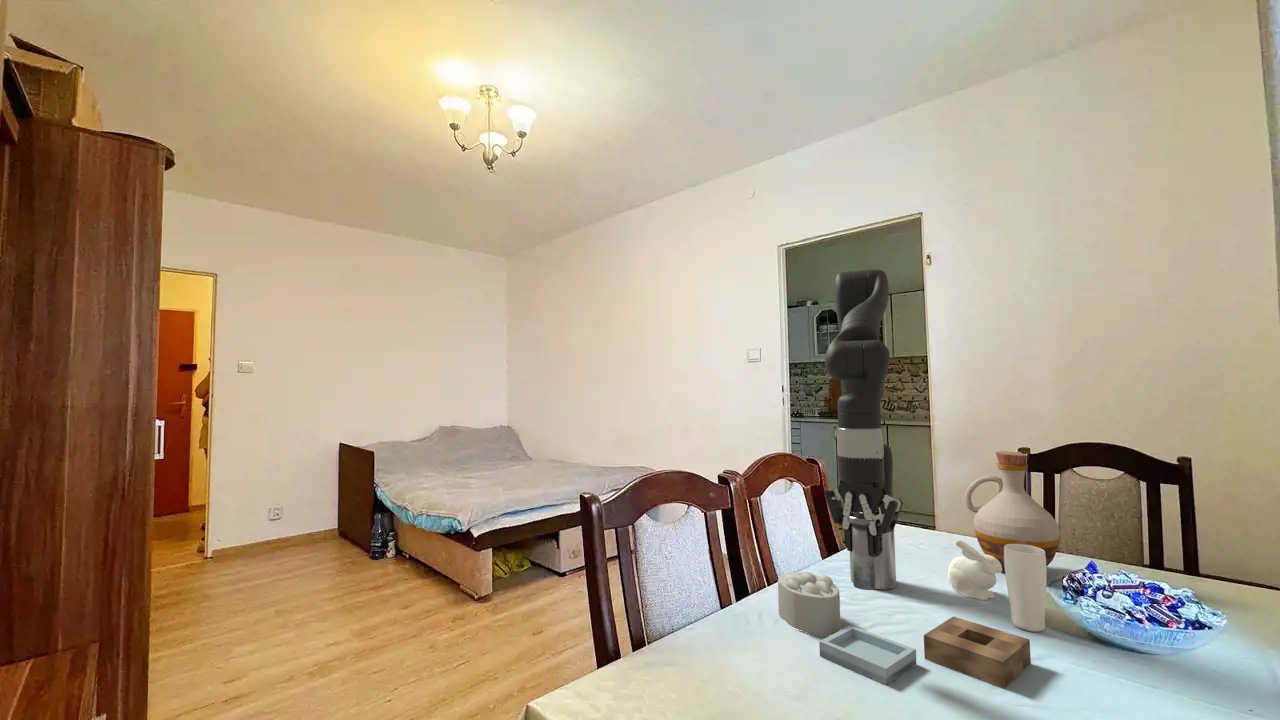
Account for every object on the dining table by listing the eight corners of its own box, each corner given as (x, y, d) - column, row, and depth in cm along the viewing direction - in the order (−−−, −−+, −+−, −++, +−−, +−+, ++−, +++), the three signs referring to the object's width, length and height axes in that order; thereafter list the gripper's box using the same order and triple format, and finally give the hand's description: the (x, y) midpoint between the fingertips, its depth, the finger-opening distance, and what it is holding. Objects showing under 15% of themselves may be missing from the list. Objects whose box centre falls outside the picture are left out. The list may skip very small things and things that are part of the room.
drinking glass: (1057, 636, 100) (1053, 554, 101) (1017, 633, 102) (1013, 552, 103) (1038, 620, 107) (1034, 544, 108) (1000, 618, 108) (997, 542, 109)
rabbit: (1008, 601, 117) (1006, 545, 118) (974, 606, 115) (971, 549, 115) (962, 582, 129) (959, 531, 129) (929, 586, 126) (927, 534, 127)
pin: (844, 585, 94) (841, 515, 94) (858, 579, 96) (856, 511, 97) (870, 593, 90) (867, 520, 90) (884, 586, 93) (882, 516, 93)
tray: (819, 655, 94) (819, 641, 94) (850, 639, 100) (850, 625, 100) (886, 685, 85) (886, 668, 85) (916, 664, 91) (915, 649, 91)
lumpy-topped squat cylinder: (815, 606, 116) (814, 565, 116) (854, 632, 103) (853, 586, 103) (772, 612, 113) (771, 570, 113) (806, 639, 100) (805, 592, 101)
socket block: (924, 658, 93) (923, 634, 93) (954, 638, 100) (953, 616, 100) (1004, 688, 83) (1003, 662, 83) (1030, 663, 91) (1029, 639, 91)
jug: (965, 574, 134) (959, 453, 135) (970, 555, 148) (965, 446, 150) (1065, 590, 123) (1057, 458, 124) (1059, 568, 137) (1053, 450, 139)
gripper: (812, 452, 98) (815, 548, 97) (888, 459, 87) (893, 568, 86) (835, 448, 102) (838, 540, 101) (911, 455, 91) (915, 558, 90)
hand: (863, 552), depth 93 cm, fingers closed on pin, 3 cm apart
